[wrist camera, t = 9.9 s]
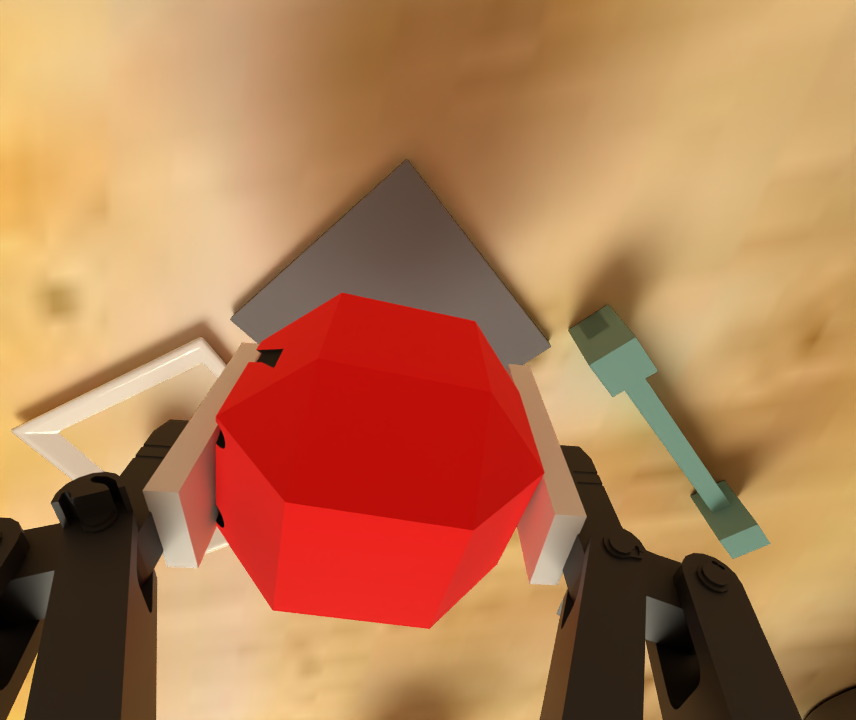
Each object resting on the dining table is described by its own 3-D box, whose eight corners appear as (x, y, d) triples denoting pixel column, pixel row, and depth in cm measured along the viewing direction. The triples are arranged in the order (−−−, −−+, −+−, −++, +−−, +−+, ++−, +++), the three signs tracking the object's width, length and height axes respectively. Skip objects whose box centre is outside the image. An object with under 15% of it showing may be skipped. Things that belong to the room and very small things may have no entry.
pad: (549, 342, 21) (551, 346, 20) (385, 447, 24) (385, 452, 24) (407, 158, 17) (406, 160, 16) (233, 315, 20) (229, 319, 20)
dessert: (211, 324, 21) (160, 384, 17) (347, 489, 27) (334, 563, 22) (25, 416, 23) (-58, 487, 19) (186, 548, 29) (148, 624, 25)
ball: (284, 251, 14) (167, 399, 8) (529, 305, 15) (610, 476, 9) (269, 441, 18) (184, 644, 12) (462, 474, 19) (484, 676, 13)
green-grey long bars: (1025, 369, 22) (1104, 408, 19) (703, 513, 27) (732, 559, 25) (982, 62, 15) (1095, 58, 13) (568, 330, 20) (589, 365, 18)
